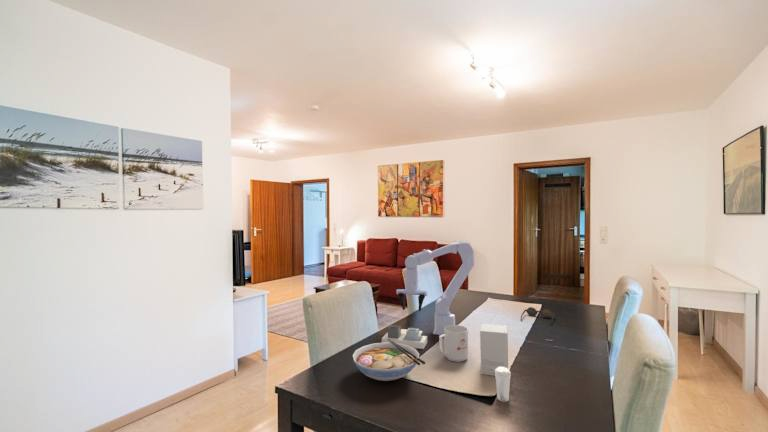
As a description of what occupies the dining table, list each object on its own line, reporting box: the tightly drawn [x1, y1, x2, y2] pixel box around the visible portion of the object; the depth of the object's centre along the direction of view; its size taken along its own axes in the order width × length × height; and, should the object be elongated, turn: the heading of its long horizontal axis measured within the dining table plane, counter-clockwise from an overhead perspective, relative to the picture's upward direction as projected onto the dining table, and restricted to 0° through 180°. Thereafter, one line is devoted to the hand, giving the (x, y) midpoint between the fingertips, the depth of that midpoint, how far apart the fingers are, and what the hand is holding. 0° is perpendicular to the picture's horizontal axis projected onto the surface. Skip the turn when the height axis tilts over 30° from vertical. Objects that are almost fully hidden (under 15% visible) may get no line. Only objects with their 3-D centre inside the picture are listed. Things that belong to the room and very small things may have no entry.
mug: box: [438, 324, 469, 363], centre depth 131 cm, size 12×9×11 cm
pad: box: [401, 328, 423, 336], centre depth 158 cm, size 10×10×1 cm
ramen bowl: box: [352, 339, 426, 382], centre depth 117 cm, size 25×23×8 cm
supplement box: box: [479, 323, 509, 377], centre depth 120 cm, size 9×9×15 cm
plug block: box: [406, 327, 420, 342], centre depth 146 cm, size 4×4×6 cm
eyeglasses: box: [520, 306, 556, 327], centre depth 178 cm, size 15×15×5 cm
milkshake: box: [493, 366, 512, 403], centre depth 102 cm, size 4×5×10 cm
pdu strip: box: [381, 324, 428, 350], centre depth 147 cm, size 18×8×7 cm, turn 72°
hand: (411, 309), depth 162 cm, fingers open, 7 cm apart
